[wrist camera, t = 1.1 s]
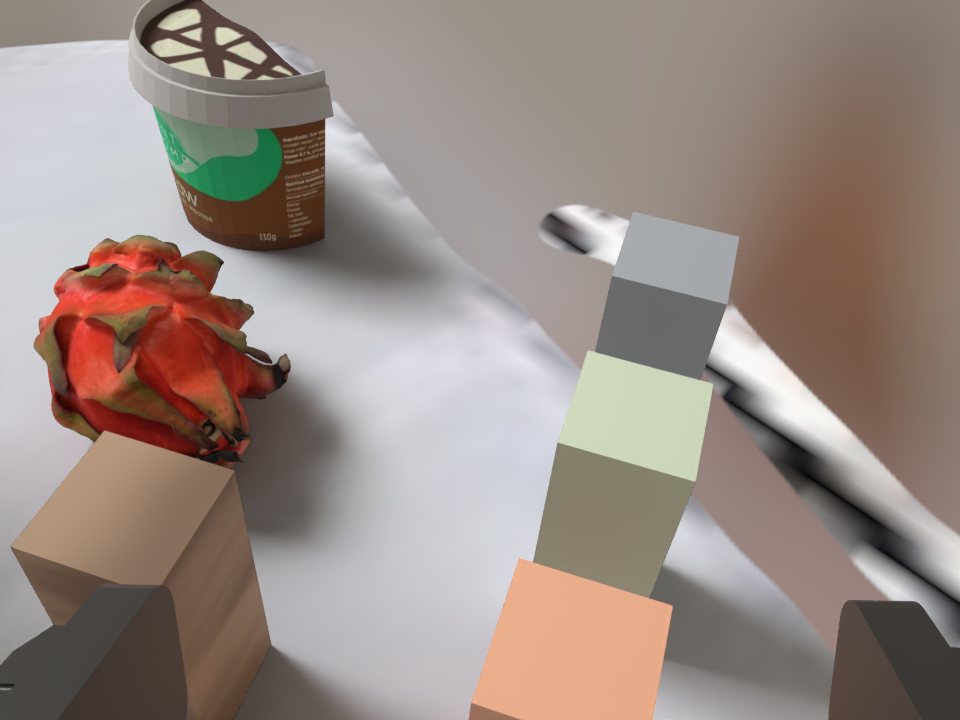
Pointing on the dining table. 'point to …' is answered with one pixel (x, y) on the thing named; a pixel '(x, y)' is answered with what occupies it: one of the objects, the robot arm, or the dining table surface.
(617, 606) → the terracotta block
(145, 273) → the dragon fruit
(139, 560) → the walnut block
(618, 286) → the slate block
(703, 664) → the dining table surface
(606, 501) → the sage block
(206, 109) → the food container
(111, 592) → the robot arm
